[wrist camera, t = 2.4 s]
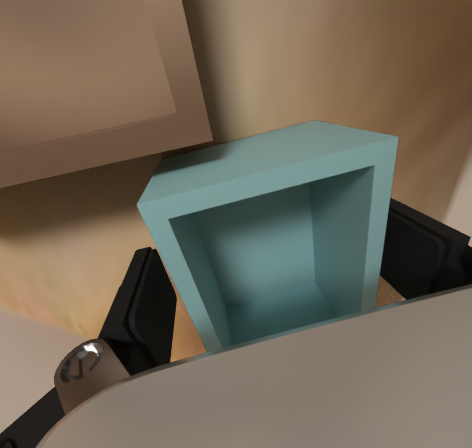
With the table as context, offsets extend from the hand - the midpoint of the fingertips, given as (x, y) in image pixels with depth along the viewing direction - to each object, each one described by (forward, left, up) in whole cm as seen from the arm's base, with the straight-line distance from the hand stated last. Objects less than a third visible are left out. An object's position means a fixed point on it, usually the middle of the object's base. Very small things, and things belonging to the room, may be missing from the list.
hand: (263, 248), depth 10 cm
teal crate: (+1, 0, -2) cm, 2 cm away
